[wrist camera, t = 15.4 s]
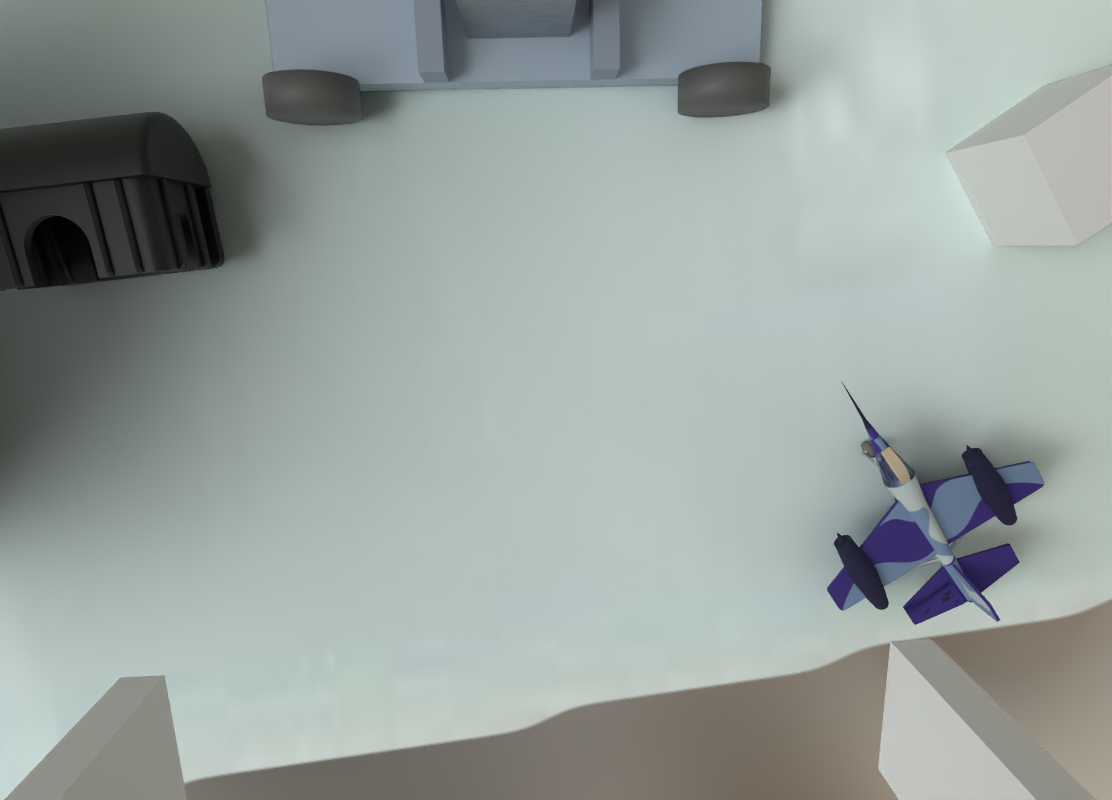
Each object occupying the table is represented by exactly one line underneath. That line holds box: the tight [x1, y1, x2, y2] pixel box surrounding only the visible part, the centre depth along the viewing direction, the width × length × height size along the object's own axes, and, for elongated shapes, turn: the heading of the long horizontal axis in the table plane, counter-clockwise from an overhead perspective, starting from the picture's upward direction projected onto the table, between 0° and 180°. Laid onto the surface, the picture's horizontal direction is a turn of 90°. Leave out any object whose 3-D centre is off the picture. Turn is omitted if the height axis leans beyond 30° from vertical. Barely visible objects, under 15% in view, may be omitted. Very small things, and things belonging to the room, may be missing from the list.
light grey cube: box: [945, 65, 1112, 246], centre depth 34 cm, size 6×6×6 cm
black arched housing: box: [0, 112, 224, 291], centre depth 32 cm, size 10×7×7 cm
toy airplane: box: [827, 384, 1044, 625], centre depth 39 cm, size 13×14×4 cm
